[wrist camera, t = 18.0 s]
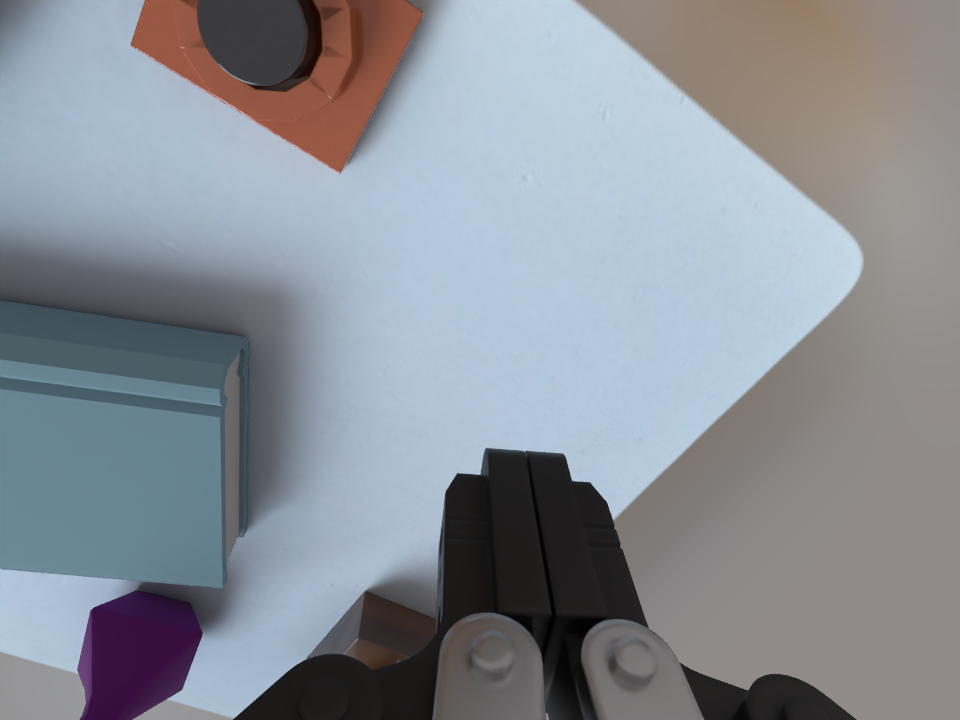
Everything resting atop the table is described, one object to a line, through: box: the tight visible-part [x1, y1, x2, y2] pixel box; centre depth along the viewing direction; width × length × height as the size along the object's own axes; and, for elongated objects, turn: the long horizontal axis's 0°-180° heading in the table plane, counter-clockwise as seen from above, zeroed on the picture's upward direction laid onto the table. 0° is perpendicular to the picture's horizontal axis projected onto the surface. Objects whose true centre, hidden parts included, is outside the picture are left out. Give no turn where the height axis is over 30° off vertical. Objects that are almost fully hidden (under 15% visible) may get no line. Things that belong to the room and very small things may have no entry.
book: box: [0, 300, 249, 588], centre depth 33 cm, size 23×16×5 cm
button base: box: [131, 0, 424, 173], centre depth 24 cm, size 10×8×4 cm
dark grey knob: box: [197, 0, 316, 86], centre depth 22 cm, size 4×4×2 cm
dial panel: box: [306, 592, 436, 670], centre depth 46 cm, size 10×9×4 cm
